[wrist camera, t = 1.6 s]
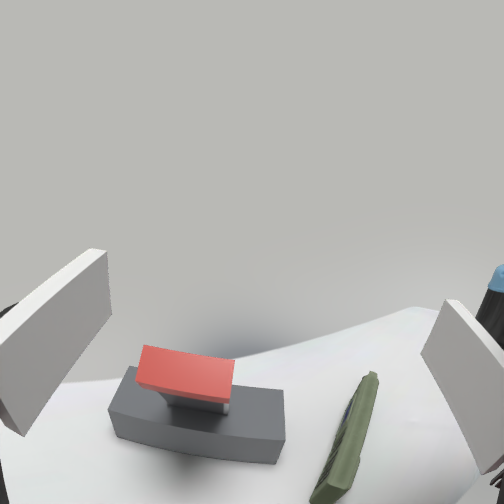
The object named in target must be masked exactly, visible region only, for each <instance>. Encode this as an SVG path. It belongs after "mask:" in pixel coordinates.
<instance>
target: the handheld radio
mask: <svg viewBox="0 0 504 504" xmlns="http://www.w3.org/2000/svg"><path fill="white" fill-rule="evenodd" d="M378 385H379V380H378V379H377V373H375V372H372V371H370V372H369V374H368V375H366V376H364V377H363V378H362V381H361V383H360V384H359V386H358V388H357V390H356V392H355V393H354V395H353V397H352V399H351V400H350V402H349V405H348V407H347V409H346V410H345V413H344V416H343V418H342V421H341V424H340V426H339V429H338V432H337V434H336V439H335V442H334V445H333V448H332V450H331V453H330V455H329V457H328V460H327V462H326V465H325V467H324V469H323V472H322V474H321V476H320V478H319V481H318V483H317V485H316V487H315V489H314V491H313V493H312V496H311V498H310V500H309V502H310V503H311V504H333V503H335V502H336V501H337V500H338V499H339V498H340V497H342V496H343V495H344V494H345V493H346V492H347V491H348V490H349V489H350V488H351V486H352V483H353V481H354V478H355V475H356V472H357V469H358V466H359V463H360V457H359V456H360V453H361V449H362V446H363V443H364V440H365V436H366V433H367V429H368V425H369V422H370V418H371V414H372V410H373V406H374V402H375V398H376V394H377V389H378Z"/></svg>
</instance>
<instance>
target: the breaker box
mask: <svg viewBox="0 0 504 504" xmlns="http://www.w3.org/2000/svg"><path fill="white" fill-rule="evenodd" d="M137 370H138V368H137V367H133V366H129V368H128V370H127V372H126V374H125V376H124V378H123V379H122V381H121V383H120V385H119V387H118V389H117V391H116V393H115V395H114V397H113V399H112V401H111V403H110V406H109V408H108V412H109V415H110V418H111V421H112V424H113V427H114V430H115V432H116V435H117V437H120V438H123V439H127V440H130V441H134V442H137V443H141V444H145V445H149V446H153V447H157V448H162V449H166V450H171V451H175V452H180V453H186V454H191V455H197V456H203V457H209V458H216V459H224V460H232V461H241V462H252V463H266V464H276V462H277V459H278V457H279V455H280V452H281V450H282V448H283V445H284V443H285V417H284V396H283V390H277V389H266V388H256V387H247V386H238V385H232V386H231V393H230V402H229V410H228V414H217V413H210V412H204V411H198V410H192V409H187V408H181V407H176V406H171V405H169V404H166V400H165V399H164V398H163V397H162V396H161V395H160V394H159V393H158V392H157V391H153V390H148V389H144V388H142V387H141V386H140V385H139V384H138V383H137V382H136V381H135V379H136V374H137Z"/></svg>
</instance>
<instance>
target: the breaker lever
mask: <svg viewBox="0 0 504 504" xmlns="http://www.w3.org/2000/svg"><path fill="white" fill-rule="evenodd" d="M234 362H235V360H229V359H222V358H215V357H209V356H202V355H196V354H190V353H184V352H179V351H173V350H168V349H162V348H157V347H153V346H148V345H144V346H143V350H142V354H141V358H140V362H139V366H138V370H137V374H136V379H135V381H136V382H137V383H138V384H139V385H140V386H141V387H142V388H144V389H148V390H153V391H157V392H158V393H159V394H160V395H161V396H162V397H163V398H164V399H165V400H166V404H169V405H171V406H176V407H181V408H187V409H192V410H198V411H204V412H210V413H217V414H228V410H229V402H230V393H231V386H232V378H233V370H234Z"/></svg>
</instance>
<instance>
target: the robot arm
mask: <svg viewBox="0 0 504 504" xmlns="http://www.w3.org/2000/svg"><path fill="white" fill-rule="evenodd" d="M111 315H112V310H111V300H110V289H109V276H108V260H107V251H103V250H98V249H92V248H90V249H88V250H87V251H86V252H84V253H83V254H81V255H80V256H79V257H77V258H76V259H74V260H73V261H72V262H70V263H69V264H68V265H66V266H65V267H64V268H62V269H61V270H60V271H58V272H57V273H56V274H54V275H53V276H52V277H50V278H49V279H48V280H47V281H46V282H44V283H43V284H41V285H40V286H39V287H38V288H37V289H35V290H34V291H33V292H31V293H30V294H29V295H28V296H27V297H25V298H24V299H23V300H22V301H21V302H18V303H16V304H14V305H12V306H10V307H7V308H6V309H4V310H3V311H2V312H0V418H1V420H2V422H3V423H4V425H5V426H6V427H8V428H9V429H11V430H13V431H14V432H16V433H18V434H19V435H21V436H23V437H25V435H26V434H27V432H28V430H29V429H30V427H31V426H32V424H33V423H34V421H35V420H36V418H37V417H38V415H39V414H40V412H41V411H42V409H43V408H44V406H45V405H46V403H47V402H48V400H49V399H50V397H51V396H52V394H53V393H54V392H55V390H56V389H57V387H58V386H59V384H60V383H61V382H62V380H63V379H64V377H65V376H66V375H67V373H68V372H69V370H70V369H71V368H72V366H73V365H74V364H75V362H76V361H77V360H78V358H79V357H80V356H81V354H82V353H83V351H84V350H85V349H86V347H87V346H88V345H89V343H90V342H91V341H92V340H93V338H94V337H95V336H96V334H97V333H98V332H99V330H100V329H101V328H102V327H103V325H104V324H105V323H106V322H107V320H108V319H109V317H110V316H111ZM421 356H422V358H423V359H424V361H425V363H426V365H427V366H428V368H429V370H430V372H431V373H432V375H433V377H434V379H435V381H436V382H437V384H438V386H439V388H440V390H441V392H442V394H443V395H444V397H445V399H446V401H447V403H448V405H449V407H450V409H451V411H452V413H453V415H454V417H455V419H456V421H457V423H458V425H459V427H460V429H461V431H462V433H463V435H464V437H465V439H466V441H467V443H468V446H469V448H470V450H471V452H472V454H473V457H474V459H475V461H476V463H477V466H478V468H479V470H480V473H481V475H484V474H486V473H489V472H491V471H494V470H496V469H497V468H498V467H499V466H500V465H501V464H502V463H503V462H504V264H503V265H500V266H498V267H497V268H496V270H495V272H494V274H493V277H492V279H491V281H490V282H489V284H488V290H487V292H486V294H485V297H484V299H483V302H482V304H481V306H480V308H479V310H478V313H477V315H476V317H475V318H474V317H473V316H472V314H471V313H470V312H469V311H468V310H467V309H466V308H465V307H464V306H463V305H462V304H461V303H460V302H459V301H458V300H448V299H445V301H444V303H443V306H442V308H441V311H440V313H439V315H438V317H437V320H436V322H435V324H434V326H433V329H432V331H431V333H430V335H429V337H428V339H427V341H426V344H425V346H424V348H423V350H422V352H421ZM501 478H502V479H501ZM498 479H501V480H500V481H499V482H498V483H497V484H496V485H495V487H497V488H500V491H499V496H498V500H497V504H504V469H503V470H502V471H501V472H500V473H499V474H498V475H497V476H496V477H495V478H493V479H492V480H491V483H490V485H493V484H494V483H495V482H496V481H497V480H498ZM0 504H9V500H8V496H7V492H6V487H5V483H4V478H3V473H2V467H1V461H0Z"/></svg>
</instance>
